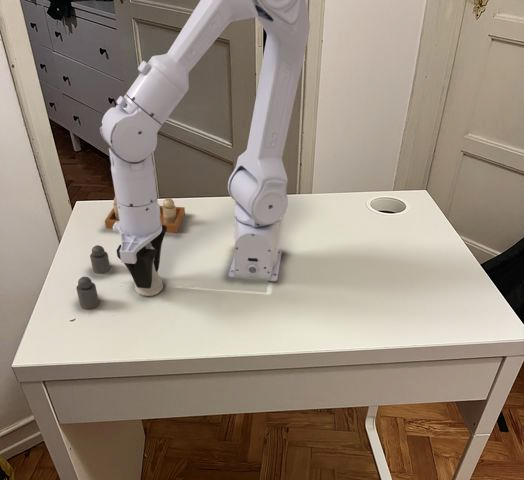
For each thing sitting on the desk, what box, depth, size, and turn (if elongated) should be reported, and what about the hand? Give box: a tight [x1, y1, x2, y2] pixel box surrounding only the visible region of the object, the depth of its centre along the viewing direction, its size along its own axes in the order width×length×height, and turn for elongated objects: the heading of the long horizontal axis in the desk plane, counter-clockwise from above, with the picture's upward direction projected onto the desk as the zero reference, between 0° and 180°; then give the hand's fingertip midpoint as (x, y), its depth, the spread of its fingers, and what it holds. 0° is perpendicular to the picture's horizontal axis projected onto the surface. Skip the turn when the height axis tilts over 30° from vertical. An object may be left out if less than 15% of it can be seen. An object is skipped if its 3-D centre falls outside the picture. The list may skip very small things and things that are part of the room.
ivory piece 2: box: [162, 197, 177, 224], centre depth 104 cm, size 2×2×5 cm
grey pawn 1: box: [75, 276, 100, 310], centre depth 85 cm, size 3×3×5 cm
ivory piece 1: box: [112, 195, 119, 220], centre depth 105 cm, size 2×2×5 cm
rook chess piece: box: [134, 242, 164, 297], centre depth 87 cm, size 4×4×8 cm
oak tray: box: [104, 205, 186, 234], centre depth 105 cm, size 7×13×2 cm, turn 84°
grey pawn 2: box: [89, 244, 111, 275], centre depth 92 cm, size 3×3×5 cm
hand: (147, 278), depth 89 cm, fingers open, 4 cm apart
